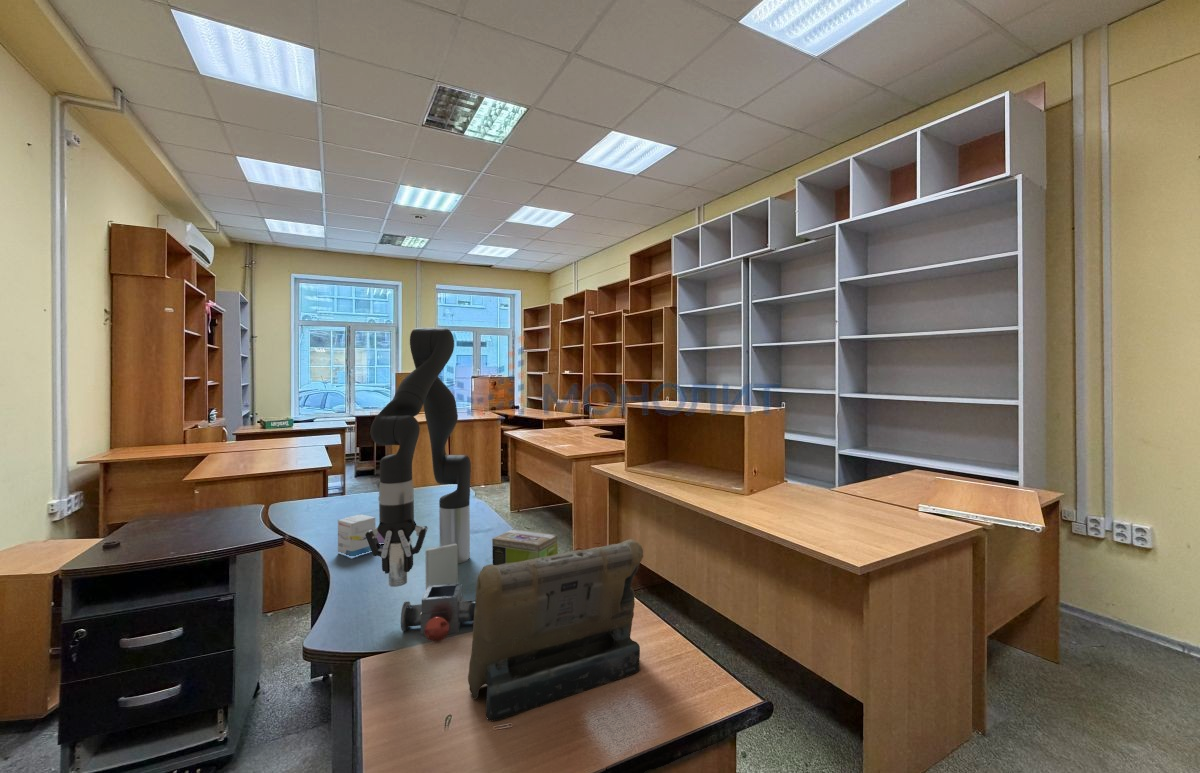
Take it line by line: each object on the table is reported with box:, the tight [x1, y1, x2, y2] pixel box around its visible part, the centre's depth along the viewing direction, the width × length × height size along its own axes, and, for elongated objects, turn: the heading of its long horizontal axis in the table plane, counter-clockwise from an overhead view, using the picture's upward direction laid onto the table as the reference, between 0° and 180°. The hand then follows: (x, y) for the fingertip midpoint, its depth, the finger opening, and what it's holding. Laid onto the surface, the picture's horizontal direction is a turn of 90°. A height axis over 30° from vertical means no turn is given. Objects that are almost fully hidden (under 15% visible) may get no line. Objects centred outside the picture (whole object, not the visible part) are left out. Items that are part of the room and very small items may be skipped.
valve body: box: [400, 582, 476, 642], centre depth 107 cm, size 12×17×8 cm
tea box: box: [491, 528, 559, 565], centre depth 127 cm, size 15×10×15 cm
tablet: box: [467, 538, 644, 722], centre depth 89 cm, size 33×14×25 cm, turn 123°
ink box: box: [337, 513, 377, 556], centre depth 157 cm, size 8×8×12 cm
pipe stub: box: [388, 542, 408, 588], centre depth 112 cm, size 4×4×10 cm
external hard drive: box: [424, 544, 459, 591], centre depth 126 cm, size 2×8×12 cm, turn 123°
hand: (397, 571), depth 112 cm, fingers closed on pipe stub, 4 cm apart
